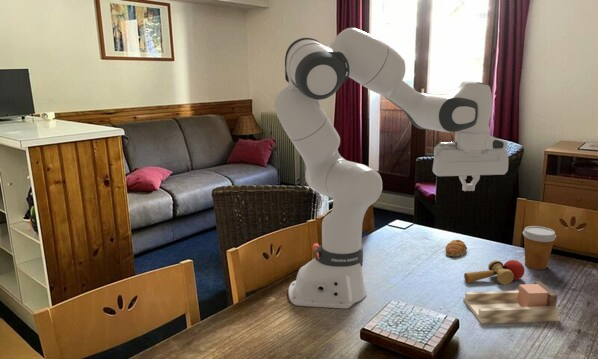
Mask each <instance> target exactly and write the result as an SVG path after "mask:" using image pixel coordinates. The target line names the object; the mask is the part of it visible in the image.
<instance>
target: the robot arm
mask: <svg viewBox="0 0 598 359" xmlns="http://www.w3.org/2000/svg"><path fill="white" fill-rule="evenodd" d="M284 75H285V76H284V79H285V80H286V82H287V83H288V85H287V86H286V87H284V88H283V89H282V90H280V91H279V92H278V94H277V95H276V96H275V98H274V102H273V108H274V111H275V113H276V116H277V119H278V121H279V122H280V124H281V126H282V128H283V130H284V131H285V134H286V135H287V137H288V138H289V139H290V141H291V143H292V144H293V146H294V147H295V149H296V151H297V152H298V154H299V155H300V156H301V158H302V160H303V162H304V164H305V167H306V169H305V172H304V174H305V176H304V178H305V182H306V184H307V185H308V186H309V187H310V188H311V189H312V190H314V191H315V192H316V193H318V194H319V195H322V196H325V197H328V198H332V200H333V204H332V209H331V212H329V213H328V214H326V215H325V216H324V218H323V219H322V221H321V222H322V223H321V243H322V244H321V245H319V243H316V242H315V243H313V245H312V250H313V252H314V258H312V260H310V261H308V262H307V263H306V264H304V265H303V266H301V267H300V268H299V269H298V272H297V274H296V278H295V279H296V280H294V281H292V282H291V283H290V285H289V286H288V291H287V292H288V294H287V295H288V299H289V301H290V302H291V303H292V304H293V305H295V306H300V307H314V308H315V307H316V308H333V309H349V308H351V307H352V306H353V305H354V304H356V303H358V302H360V301H362V300H363V299H365V298H366V296H367V290H366V286H365V281H364V275H363V264H364V248H363V245H362V237H363V236H362V234H363V222H364V217H365V215H366V212H367V211H368V209H369V207H370V206H371V205H373V204H374V203H376V202H377V200H378V199H379V198H380V196H381V194H382V191H383V180H382V176H381V175H380V173H379V172H378V171H377V170H376V169H373V168H371V167H369V166H368V165H366V164H363V163H358V162H355V161H350V160H347V159H345V158H344V157H343V156H341V154H340V153H339V152H340V151H339V150H338V149H339V148H340V145H341V137H340V135H339V133H338V131H337V129H336V128H335V127H334V124H333V123H332V121H331V119H330V118H329V116H328V114H327V113H326V111H325V110H324V108H323V106H322V105H321V103H320V102H321V101H320V100H325V99H328V98H330V97H331V96H333V95H334V94H335V93H337V91H338V90H339V89H340V87H341V86H342V85H343V84H345V83H346V82H347V81H348V80H349V79H352V80H353V81H354V82H356V83H358V84H359V85H361V86H362V87H364V88H366V89H368V90H369V91H372V92H374V93H376V94H379V95H381V96H383V97H384V98H385V99H387V101H389V102H391V103H392V104H393V105H395V106H396V107H398V108H399V109H400V110H401V111H403V113H404V114H405V115H406V117H407V119H408V120H409V122H410V123H411V124H412V125H413V126H414V127H415V128H417V129H421V130H431V131H437V132H442V133H443V132H444V133H454V134H455V135H454V141H453V142H452V141H451V142H450V141H449V142H444V141H443V142H442V141H441V142H439V143H438V144H436V145H435V146H434V148H433V157H434V158H433V163H432V173H433V174H434V175H436V176H437V177H458V179H459V181H460V182H461V184H462V186H461V187H462V188H461V189H462V191H464V192H471V191H472V192H474V191H475V189H476V185H477V183H478V182H479V181H480V180H481V179H480V178H481V176H495V175H506V174H507V172H508V170H509V154H508V151H507V150H506V149H507V148H508V142H507V141H506V140H503V139H501V138H496V136H493V135H490V134H491V128H490V119H491V117H492V107H493V97H492V95H493V94H492V90H491V87H490V85H488V84H487V83H484V82H480V81H472V80H471V81H470V80H469V81H467V80H466V81H462V82H461V84H460V85H459V86H457V88H456V89H454V90H452V91H451V92H449V93H446V94H433V93H426V92H419V91H417V90H416V89H414V88H413V87H412V86H410V85H409V84H408V83H407V82H405V81H404V77H405V75H406V62H405V59H404V58H403V57H402V55H401V54H399V52H397V51H396V50H395V49H394V48H392V47H391V46H390V45H388V44H386V42H384V41H383V40H381V39H379V38H378V37H376V36H374V35H372V34H370V33H367V32H366V31H363V30H361V29H359V28H356V27H348V28H346V29H344V30H342V31H341V32H339V34H337V36H336V37H335V38H334V40H333V41H332V42H331V43H329V44H326V45H324V44H322V43H321V42H320V41H319V40H317V39H315V38H312V37H301V38H298V39H295V40H294V41H293V42H292V43H290V44H289V46H288V48H287V49H286V52H285V56H284ZM468 176H471V177H472V180H471V181H470V183H467V181H466V180H467V177H468Z"/></svg>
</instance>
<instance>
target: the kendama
mask: <svg viewBox="0 0 598 359" xmlns="http://www.w3.org/2000/svg"><path fill="white" fill-rule="evenodd" d="M487 266H488V267H487V268H488V270H482V271H481V270H480V271H471V272H465V273H464V275H463V279H464V281H465V282H466V283H467V284H469V283H473V282H476V281H480V280H484V279H488V278H490V277H491V278H492V277H494V276H496V280H497V282H498V283H500V285H508V284H510V283H511V282H513V281H518V280H520V279H522V278H523V277H524V275H525V271H526V270H525V266H524V265H523V264H522V263H521V261H519V260H516V259H511V260H507V261H506V262H505V263H503V262H502V261H501V260H498V259H495V260H492V261H491V262H489V264H488V265H487Z"/></svg>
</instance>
